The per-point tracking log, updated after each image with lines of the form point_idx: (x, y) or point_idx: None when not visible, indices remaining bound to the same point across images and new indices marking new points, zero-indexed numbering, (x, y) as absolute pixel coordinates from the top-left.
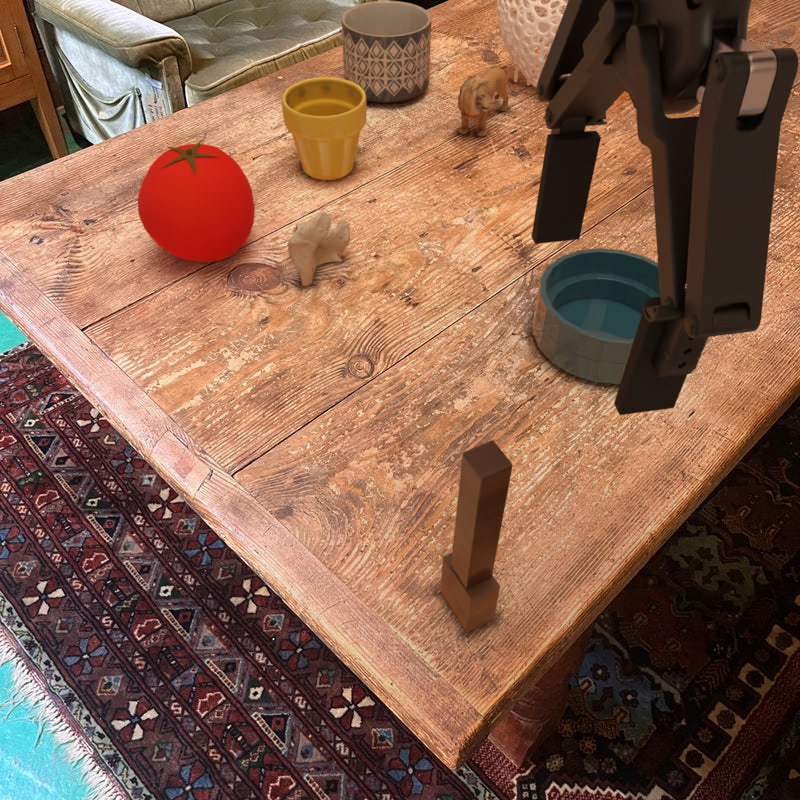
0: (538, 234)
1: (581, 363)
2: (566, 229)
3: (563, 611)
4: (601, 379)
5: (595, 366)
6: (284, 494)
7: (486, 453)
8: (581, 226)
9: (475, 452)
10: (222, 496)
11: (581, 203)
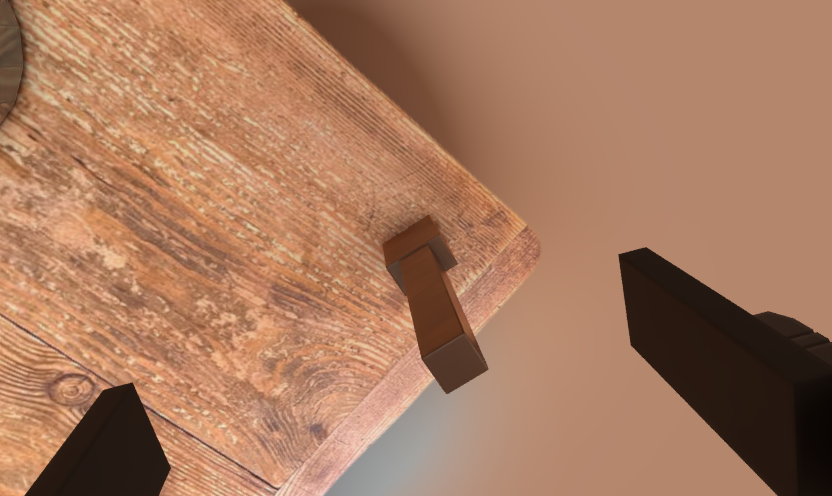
0: (162, 481)
1: (2, 92)
2: (135, 431)
3: (415, 139)
4: (19, 55)
5: (5, 70)
6: (295, 436)
7: (446, 365)
8: (120, 403)
9: (446, 379)
10: (306, 491)
11: (99, 455)
